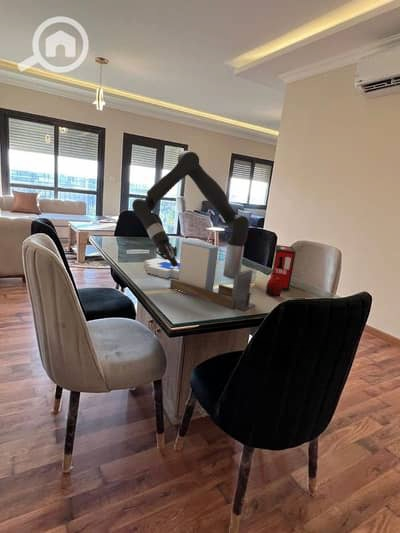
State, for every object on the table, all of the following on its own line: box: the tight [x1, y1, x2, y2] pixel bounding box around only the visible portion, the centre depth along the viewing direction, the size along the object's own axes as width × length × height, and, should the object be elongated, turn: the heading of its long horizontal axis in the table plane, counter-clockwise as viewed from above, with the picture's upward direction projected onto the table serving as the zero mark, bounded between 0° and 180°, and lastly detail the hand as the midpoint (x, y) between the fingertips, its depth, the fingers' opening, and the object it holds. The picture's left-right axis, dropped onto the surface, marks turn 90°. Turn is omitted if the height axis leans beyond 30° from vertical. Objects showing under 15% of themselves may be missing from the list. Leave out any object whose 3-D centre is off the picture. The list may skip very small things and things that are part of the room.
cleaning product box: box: [269, 244, 297, 292], centre depth 163 cm, size 16×9×20 cm, turn 168°
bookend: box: [229, 269, 256, 313], centre depth 126 cm, size 13×6×14 cm, turn 146°
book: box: [177, 240, 219, 292], centre depth 139 cm, size 6×15×21 cm, turn 56°
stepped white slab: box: [143, 257, 180, 279], centre depth 170 cm, size 28×4×28 cm
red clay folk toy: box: [265, 266, 282, 298], centre depth 146 cm, size 8×7×15 cm
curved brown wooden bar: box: [169, 278, 252, 310], centre depth 137 cm, size 12×33×4 cm, turn 56°
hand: (175, 265), depth 146 cm, fingers closed
